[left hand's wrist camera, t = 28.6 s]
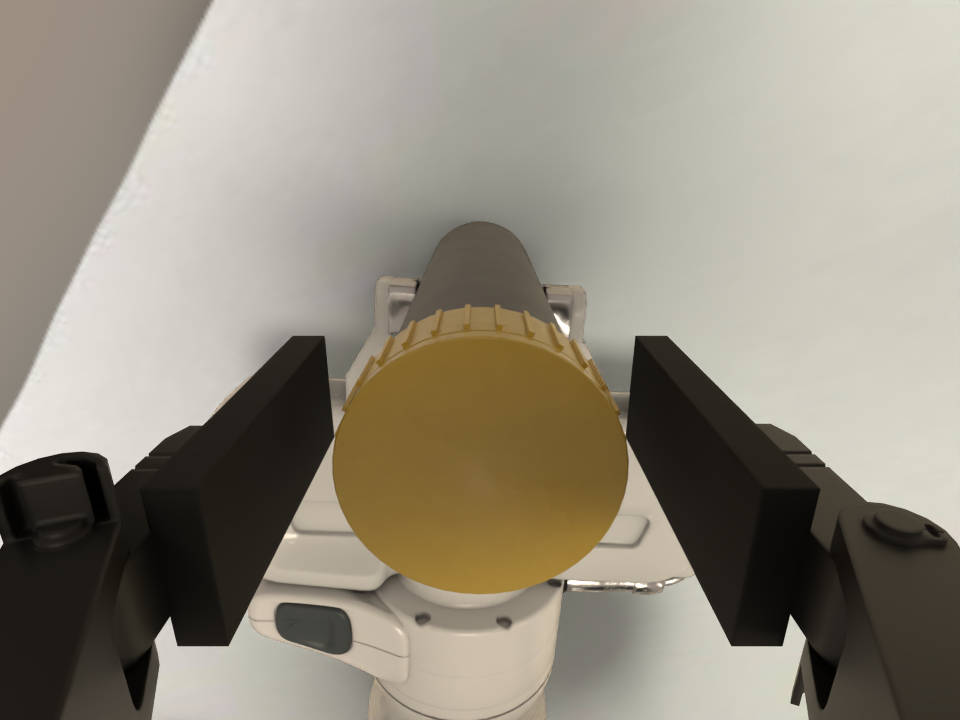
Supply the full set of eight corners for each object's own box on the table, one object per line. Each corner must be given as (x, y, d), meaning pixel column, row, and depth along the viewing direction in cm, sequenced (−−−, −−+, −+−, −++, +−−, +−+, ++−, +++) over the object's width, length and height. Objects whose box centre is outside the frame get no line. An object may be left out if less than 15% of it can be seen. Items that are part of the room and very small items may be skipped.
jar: (410, 274, 27) (311, 452, 11) (477, 199, 26) (473, 279, 10) (482, 338, 28) (485, 584, 12) (550, 269, 27) (651, 442, 11)
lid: (435, 570, 13) (428, 637, 11) (298, 381, 12) (265, 424, 10) (651, 472, 12) (680, 527, 11) (536, 251, 11) (547, 271, 9)
